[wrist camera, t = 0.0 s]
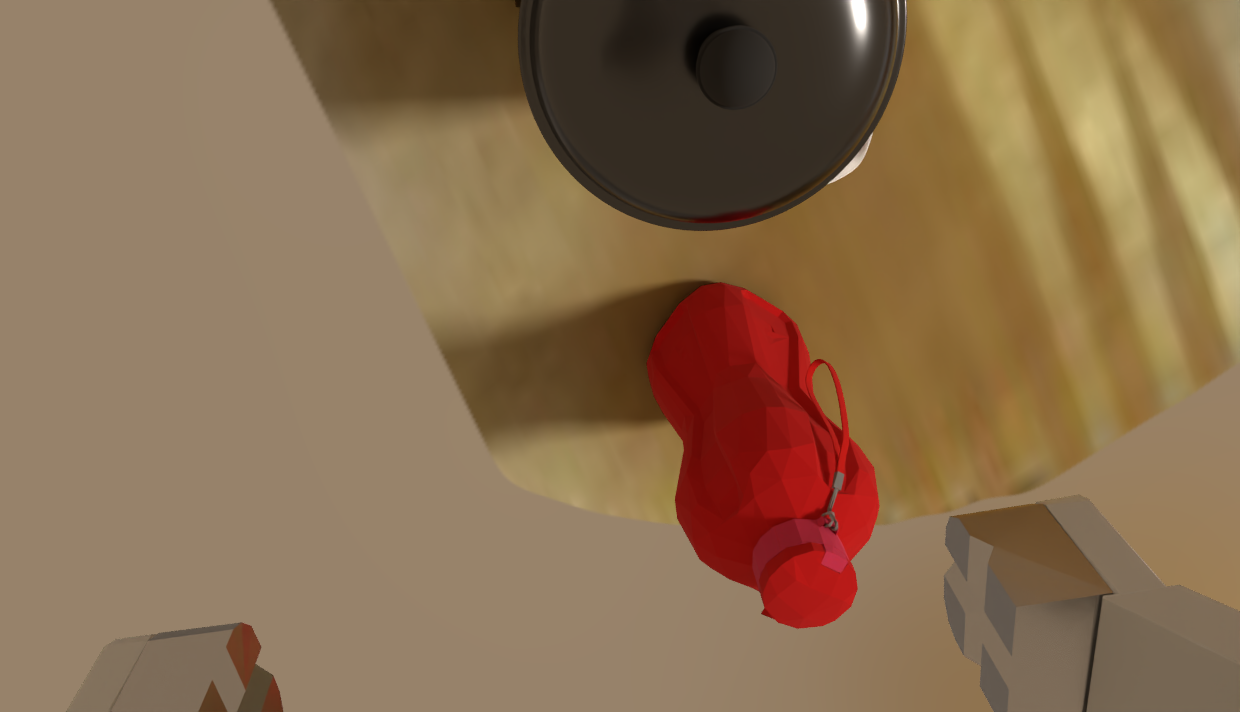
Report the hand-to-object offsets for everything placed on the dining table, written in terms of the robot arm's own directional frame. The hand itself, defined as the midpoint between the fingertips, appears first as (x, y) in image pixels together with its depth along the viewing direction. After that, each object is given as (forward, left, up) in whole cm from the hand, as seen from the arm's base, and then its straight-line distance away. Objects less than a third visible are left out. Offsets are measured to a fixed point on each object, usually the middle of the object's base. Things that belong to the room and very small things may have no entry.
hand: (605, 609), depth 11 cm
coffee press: (-3, +4, -48) cm, 48 cm away
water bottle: (+21, +8, -48) cm, 53 cm away
